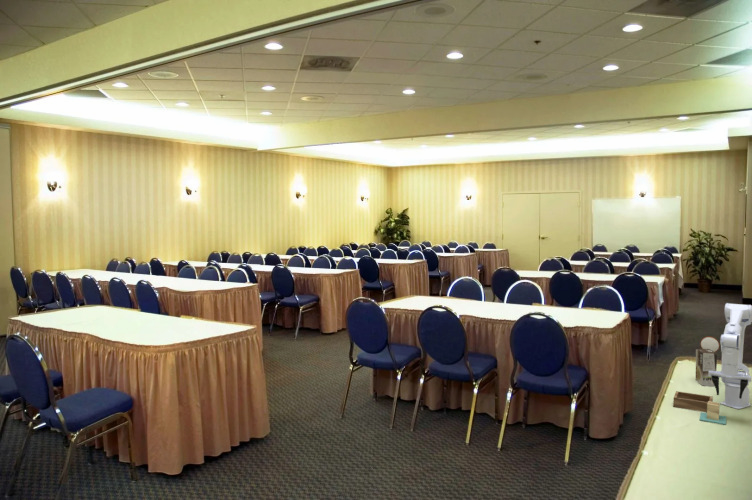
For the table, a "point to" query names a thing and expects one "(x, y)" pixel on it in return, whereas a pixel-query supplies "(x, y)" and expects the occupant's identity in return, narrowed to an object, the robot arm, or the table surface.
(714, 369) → the coffee box
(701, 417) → the teal mat
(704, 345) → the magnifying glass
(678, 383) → the table surface
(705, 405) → the walnut crate
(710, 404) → the maple block
